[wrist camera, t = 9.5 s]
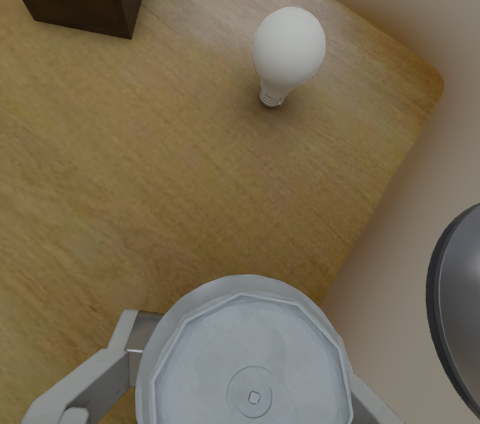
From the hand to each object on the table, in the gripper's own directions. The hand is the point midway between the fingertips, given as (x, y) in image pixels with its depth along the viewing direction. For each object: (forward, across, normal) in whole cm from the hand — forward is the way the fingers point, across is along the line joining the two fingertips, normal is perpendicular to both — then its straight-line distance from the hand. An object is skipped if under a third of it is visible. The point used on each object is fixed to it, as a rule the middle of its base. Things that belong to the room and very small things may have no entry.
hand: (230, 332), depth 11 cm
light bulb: (+30, -3, -4) cm, 30 cm away
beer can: (+4, 0, +5) cm, 7 cm away
